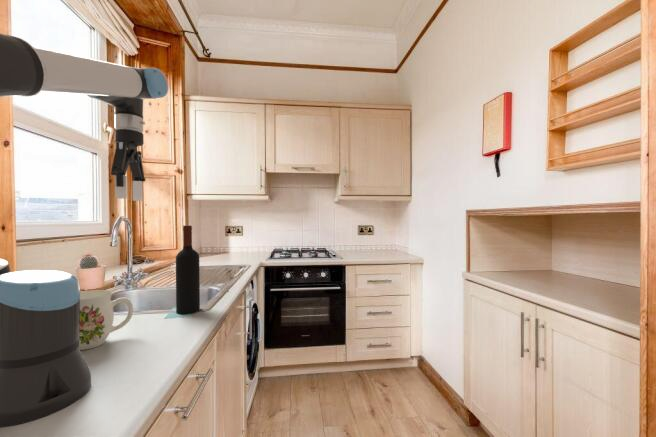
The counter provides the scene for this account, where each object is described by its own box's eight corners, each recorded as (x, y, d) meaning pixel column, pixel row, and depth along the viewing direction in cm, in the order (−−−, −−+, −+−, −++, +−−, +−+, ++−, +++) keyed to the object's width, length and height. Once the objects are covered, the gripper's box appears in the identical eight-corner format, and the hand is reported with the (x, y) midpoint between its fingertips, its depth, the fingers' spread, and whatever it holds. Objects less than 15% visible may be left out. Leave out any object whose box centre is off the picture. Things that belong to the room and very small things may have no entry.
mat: (203, 315, 103) (203, 315, 103) (164, 318, 100) (164, 318, 100) (208, 305, 115) (208, 305, 115) (173, 308, 112) (173, 307, 112)
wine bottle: (173, 315, 103) (172, 226, 102) (179, 308, 110) (178, 225, 110) (197, 313, 105) (197, 225, 104) (201, 307, 112) (200, 225, 112)
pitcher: (136, 341, 82) (136, 290, 82) (45, 362, 71) (44, 302, 70) (130, 329, 91) (129, 283, 91) (47, 346, 79) (47, 293, 79)
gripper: (127, 120, 84) (128, 197, 84) (154, 141, 108) (155, 201, 108) (96, 118, 82) (97, 197, 82) (130, 140, 106) (131, 201, 107)
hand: (130, 199), depth 95 cm, fingers open, 13 cm apart
